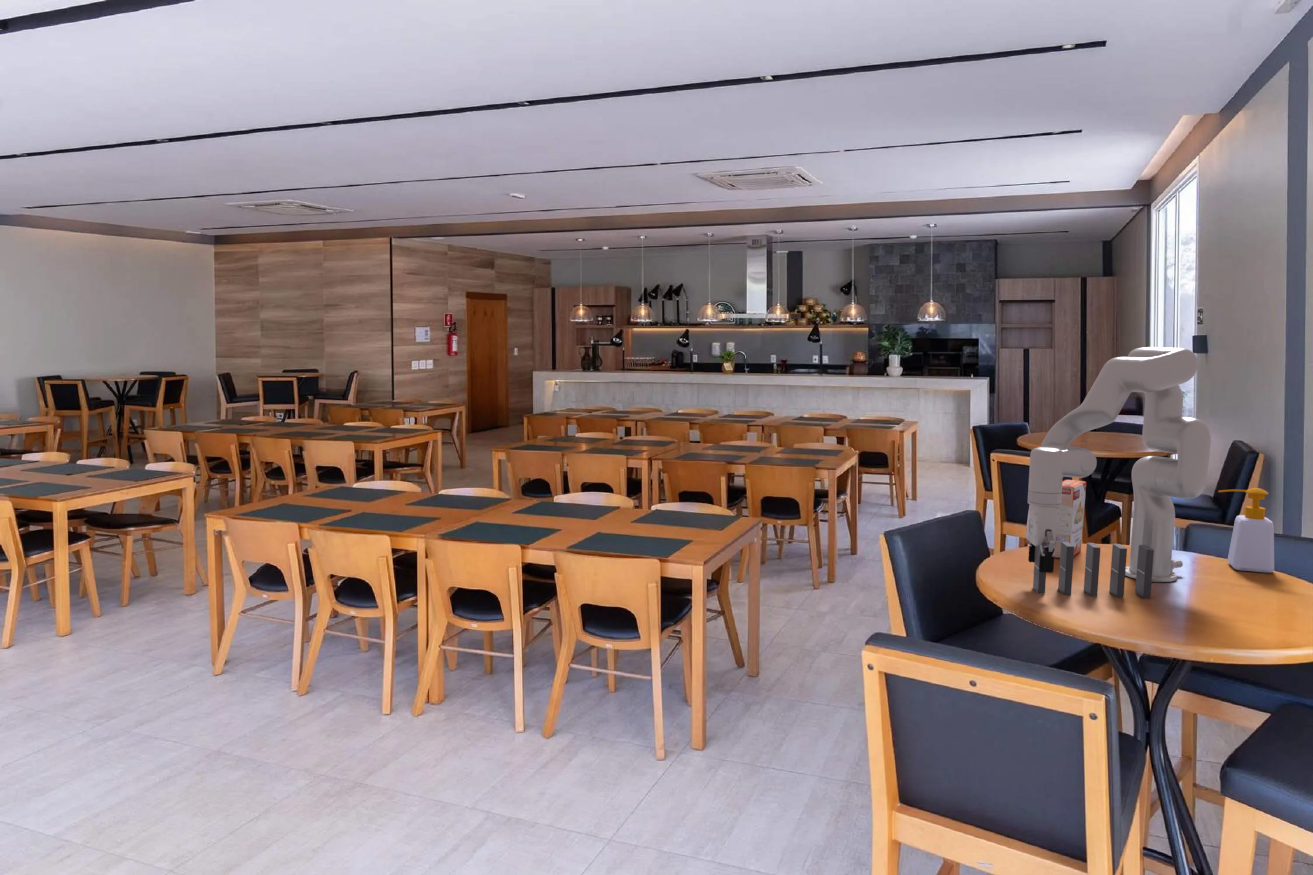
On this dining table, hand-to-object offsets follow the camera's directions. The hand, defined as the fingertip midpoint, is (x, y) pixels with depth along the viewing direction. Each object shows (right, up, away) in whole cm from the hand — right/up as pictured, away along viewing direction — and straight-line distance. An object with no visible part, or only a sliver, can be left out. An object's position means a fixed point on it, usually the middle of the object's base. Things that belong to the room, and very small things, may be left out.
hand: (1040, 566), depth 225 cm
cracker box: (+23, -2, +38) cm, 45 cm away
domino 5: (+24, -7, -3) cm, 25 cm away
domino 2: (+6, -6, 0) cm, 8 cm away
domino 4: (+18, -6, -2) cm, 19 cm away
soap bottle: (+65, -4, +25) cm, 70 cm away
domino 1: (0, -6, +1) cm, 6 cm away
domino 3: (+12, -6, -1) cm, 13 cm away
